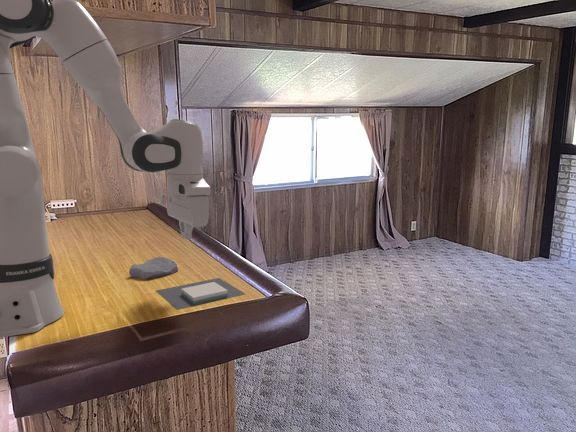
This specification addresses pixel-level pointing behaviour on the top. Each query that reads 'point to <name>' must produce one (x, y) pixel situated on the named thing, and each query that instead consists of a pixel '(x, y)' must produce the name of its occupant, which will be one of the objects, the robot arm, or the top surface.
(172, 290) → the mat
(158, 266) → the stone block
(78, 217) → the top surface
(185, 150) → the robot arm
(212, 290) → the tile
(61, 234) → the top surface
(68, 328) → the top surface
